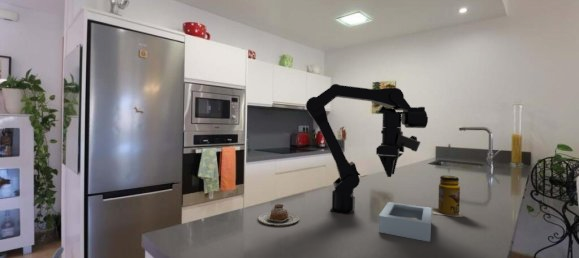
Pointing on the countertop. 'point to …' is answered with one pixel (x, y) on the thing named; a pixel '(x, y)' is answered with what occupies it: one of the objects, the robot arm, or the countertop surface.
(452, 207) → the condiment
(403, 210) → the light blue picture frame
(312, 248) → the countertop surface
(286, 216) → the pastry
